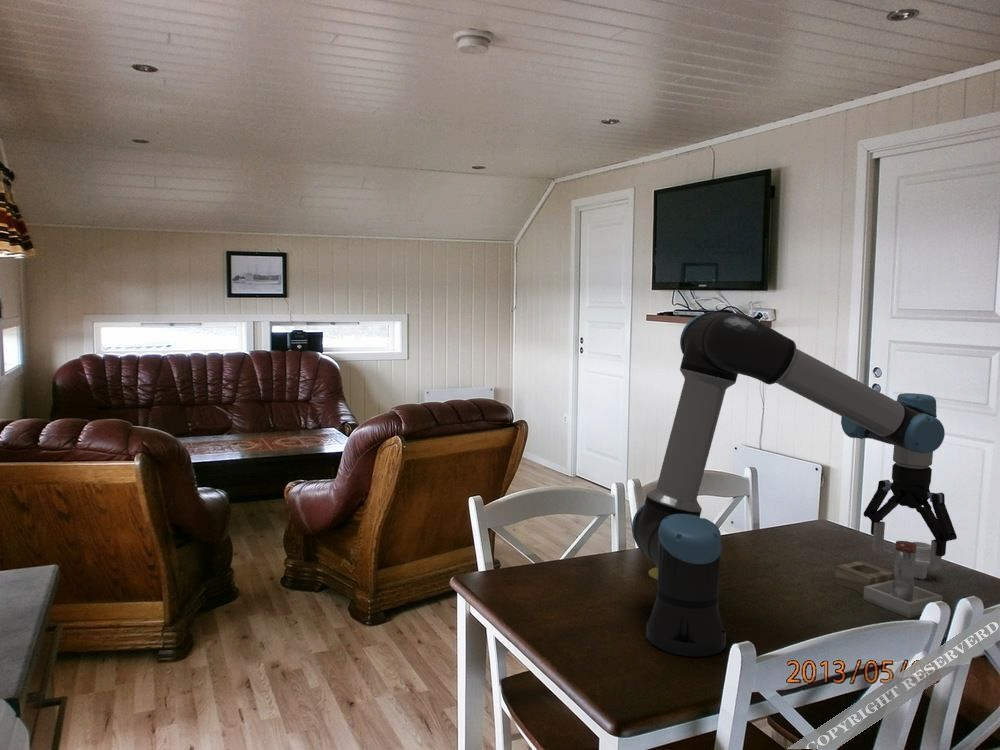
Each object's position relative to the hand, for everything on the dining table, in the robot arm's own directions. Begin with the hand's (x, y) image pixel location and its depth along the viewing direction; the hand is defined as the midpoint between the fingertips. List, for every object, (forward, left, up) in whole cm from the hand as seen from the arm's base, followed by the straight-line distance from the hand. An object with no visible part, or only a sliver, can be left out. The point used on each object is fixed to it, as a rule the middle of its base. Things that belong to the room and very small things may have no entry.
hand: (905, 559), depth 164 cm
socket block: (+2, +11, -10) cm, 15 cm away
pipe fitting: (+20, +10, -10) cm, 24 cm away
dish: (0, 0, -10) cm, 10 cm away
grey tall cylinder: (0, 0, -9) cm, 9 cm away
